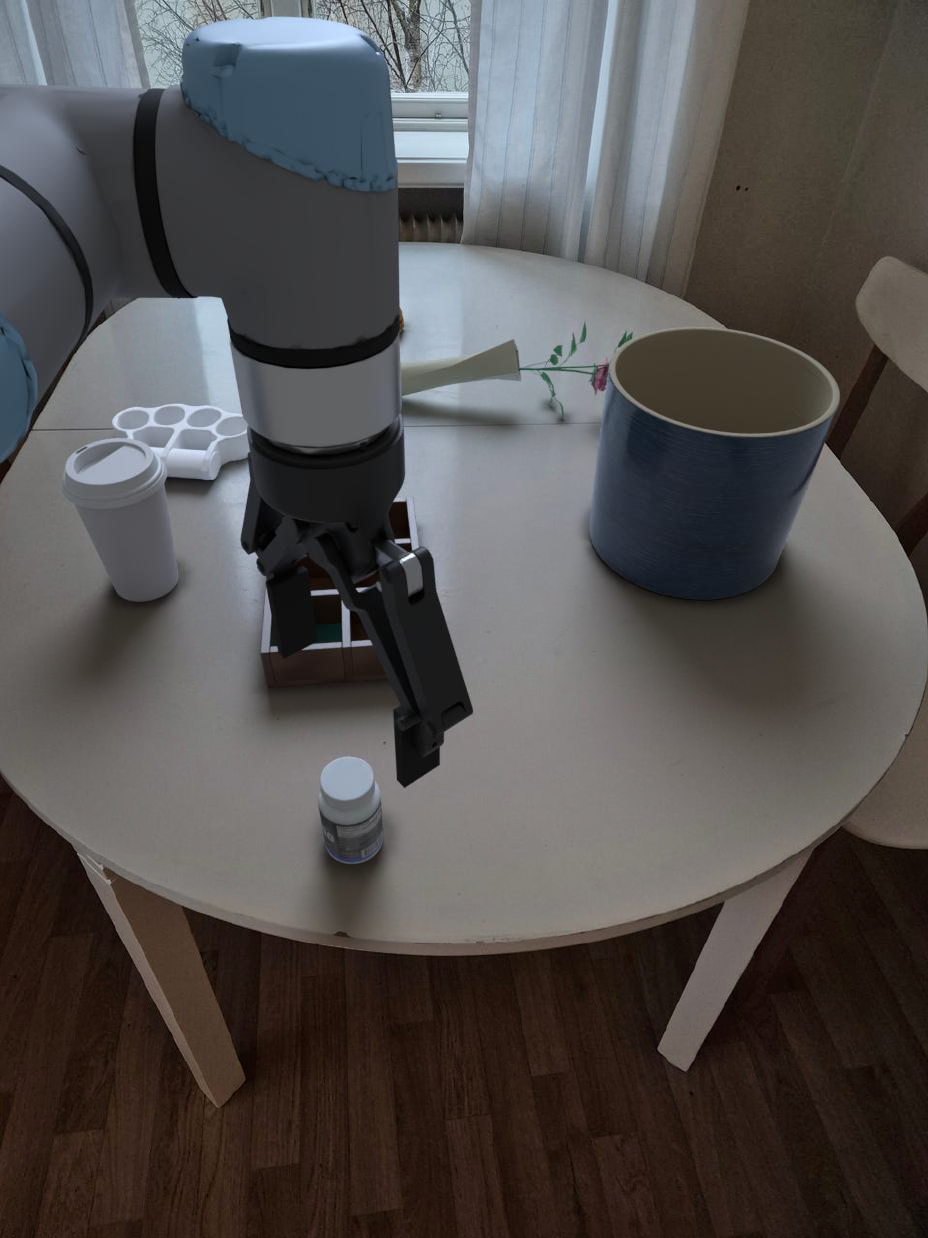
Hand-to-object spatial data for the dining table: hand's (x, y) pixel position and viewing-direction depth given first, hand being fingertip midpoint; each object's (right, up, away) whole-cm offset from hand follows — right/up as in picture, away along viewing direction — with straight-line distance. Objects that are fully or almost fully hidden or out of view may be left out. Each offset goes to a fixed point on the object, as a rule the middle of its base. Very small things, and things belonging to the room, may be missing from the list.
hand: (354, 706), depth 56 cm
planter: (+32, +15, +42) cm, 55 cm away
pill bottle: (-2, -12, +13) cm, 18 cm away
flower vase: (+13, +35, +63) cm, 73 cm away
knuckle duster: (-28, +27, +53) cm, 66 cm away
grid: (-5, +8, +34) cm, 35 cm away
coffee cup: (-26, +9, +35) cm, 45 cm away
